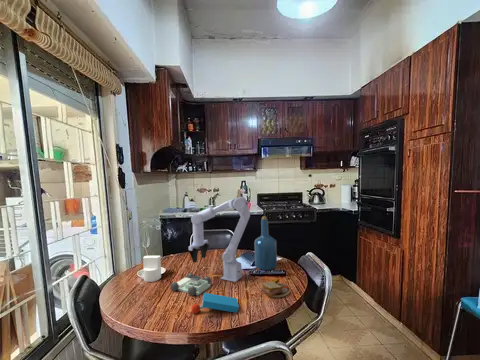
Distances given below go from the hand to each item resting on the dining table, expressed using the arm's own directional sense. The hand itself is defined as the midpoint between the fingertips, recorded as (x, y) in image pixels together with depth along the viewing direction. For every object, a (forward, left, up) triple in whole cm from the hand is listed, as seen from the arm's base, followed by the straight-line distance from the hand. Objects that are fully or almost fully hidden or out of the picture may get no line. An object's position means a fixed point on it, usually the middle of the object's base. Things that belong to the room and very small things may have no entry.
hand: (199, 259), depth 129 cm
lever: (-26, +23, -10) cm, 36 cm away
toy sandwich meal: (-44, -1, -10) cm, 45 cm away
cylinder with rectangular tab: (+23, +12, -10) cm, 28 cm away
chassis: (-4, +12, -9) cm, 16 cm away
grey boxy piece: (-7, +12, -8) cm, 16 cm away
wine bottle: (-28, -28, -10) cm, 41 cm away
